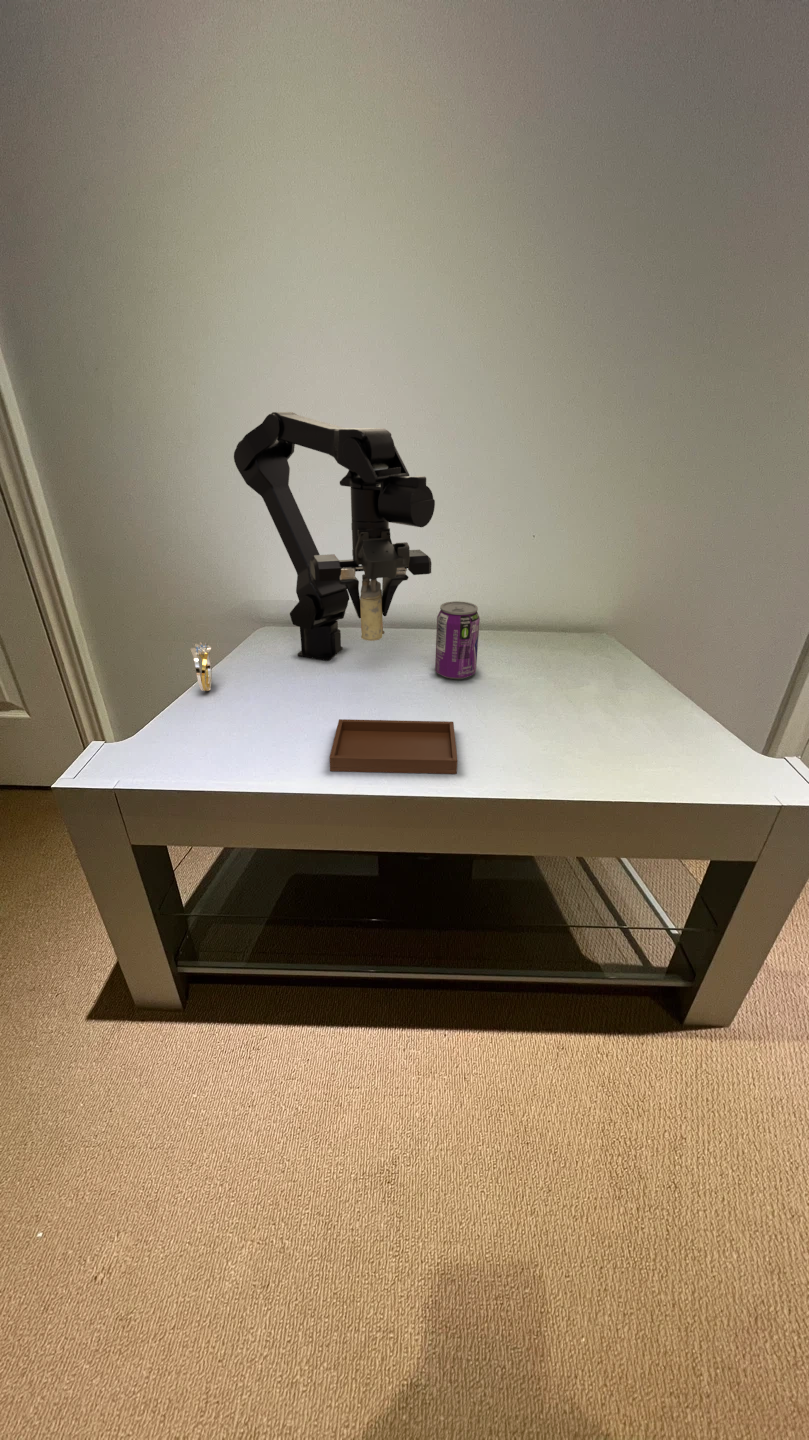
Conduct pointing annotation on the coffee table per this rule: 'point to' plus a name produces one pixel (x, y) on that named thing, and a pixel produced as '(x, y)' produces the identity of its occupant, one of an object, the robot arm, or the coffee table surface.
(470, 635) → the beverage can
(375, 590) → the worn yellow canister
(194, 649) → the ring
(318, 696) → the coffee table surface
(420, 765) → the tray
